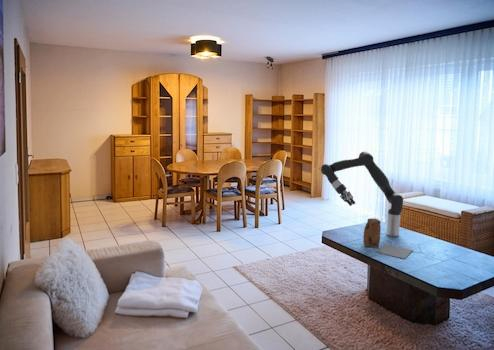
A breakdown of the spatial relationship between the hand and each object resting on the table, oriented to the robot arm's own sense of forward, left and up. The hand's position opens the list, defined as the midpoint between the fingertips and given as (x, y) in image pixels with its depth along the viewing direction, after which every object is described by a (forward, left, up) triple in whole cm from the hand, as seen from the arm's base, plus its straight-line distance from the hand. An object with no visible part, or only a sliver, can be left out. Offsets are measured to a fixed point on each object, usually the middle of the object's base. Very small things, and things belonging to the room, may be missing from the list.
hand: (352, 204), depth 301 cm
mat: (+2, +33, -28) cm, 44 cm away
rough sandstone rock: (+1, +16, -28) cm, 33 cm away
